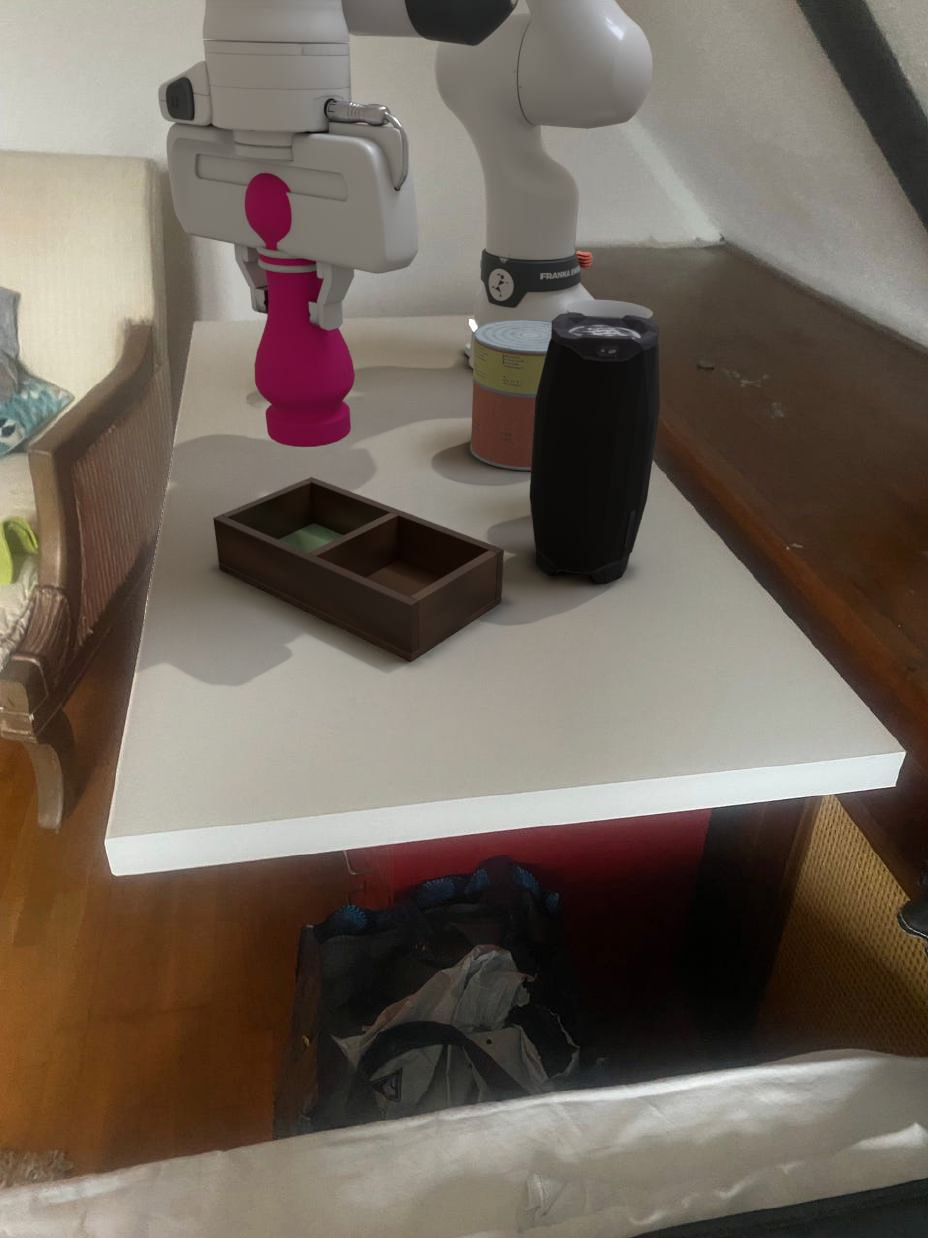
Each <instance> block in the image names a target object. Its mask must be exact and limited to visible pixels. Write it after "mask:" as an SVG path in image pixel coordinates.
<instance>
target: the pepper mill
mask: <svg viewBox="0 0 928 1238" xmlns="http://www.w3.org/2000/svg"><path fill="white" fill-rule="evenodd" d="M290 192H291V191H290V189H289V187H288V186H287V185H286V183H285V182H284V181H283V180H281V179H280V178H279V177H278V176H276V175H273V174H271V173H260V174H258V175H256V176H254V177H253V178H252V180H251V181H250V183H249V185H248V187H247V190H246V194H245V213H246V218H247V220H248V223H249V225H250V226H251V228H252V229H253V230H254V231H255V232H256V233H257V234H258V235H259V236H260V238H261V239H262V240H263V241H264V243H265V244H266V248H263V247H260V246H258V247H257V251H258V252H259V260H258V264H259V266H260V267H261V268H263V269H265V272H266V278H267V284H268V300H269V306H268V314H266V315H267V316H266V321H265V325H264V329H263V332H262V334H261V337H260V340H259V344H258V346H257V350H256V353H255V359H254V383H255V386H256V389H257V391H258V393H259V394H260V396H262V397H263V399H265V400H266V401H267V402H268V403H269V404H270V405H268V407H267V408H266V410H265V412H264V413H265V422H266V432H267V435H268V437H269V438H270V439H271V440H272V441H274V442H275V443H278V444H280V445H284V446H290V447H297V448H313V447H315V448H316V447H321V446H322V447H323V446H327V445H331V444H334V443H337V442H339V441H342V440H343V439H345V438H346V437H347V436H348V435H349V434H350V432H351V430H352V422H351V408H350V406H349V405H348V404H347V402H345V401H344V399H345V398H346V397H347V396H348V394H349V393H351V391H352V389H353V387H354V383H355V377H356V376H355V370H354V369H355V368H354V362H353V358H352V355H351V352H350V349H349V346H348V344H347V342H346V340H345V338H344V337H343V334H342V333H341V331H340V327H339V328H336V329H332V330H325V329H321V328H317V327H314V326H312V325H311V324H310V319H309V318H310V316H311V314H310V312H309V302H308V301H312V300H318V296H319V293H320V290H321V287H322V284H323V281H324V279H321V278H318V277H317V266H316V261H313V260H308V259H303V258H299V257H294V256H291V255H289V254H288V253H286V252H284V251H278V249H277V243H278V242H279V241H280V240H282V239H283V238H284V237H285V236H286V235H287V234H288V233H289V231H290V228H291V223H292V214H291V206H290V202H289V198H288V196H287V194H286V193H290Z"/></svg>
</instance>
